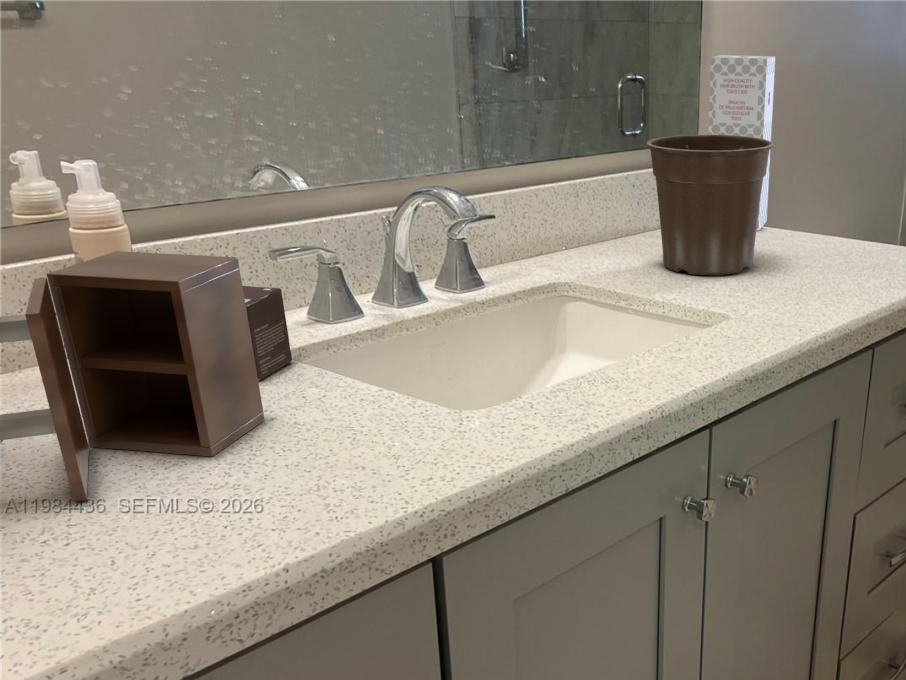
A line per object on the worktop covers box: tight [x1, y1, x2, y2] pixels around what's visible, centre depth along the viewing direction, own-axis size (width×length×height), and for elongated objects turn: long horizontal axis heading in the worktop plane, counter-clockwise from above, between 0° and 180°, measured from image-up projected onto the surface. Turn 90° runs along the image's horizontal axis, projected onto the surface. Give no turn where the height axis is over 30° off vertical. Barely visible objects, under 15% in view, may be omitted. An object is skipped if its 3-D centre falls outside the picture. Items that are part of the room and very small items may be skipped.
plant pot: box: [646, 134, 774, 277], centre depth 137 cm, size 16×16×16 cm
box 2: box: [707, 54, 776, 232], centre depth 163 cm, size 8×8×25 cm
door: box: [0, 277, 90, 502], centre depth 72 cm, size 7×10×13 cm
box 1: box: [242, 285, 293, 381], centre depth 97 cm, size 6×6×7 cm
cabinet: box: [46, 250, 265, 457], centre depth 81 cm, size 8×10×14 cm
